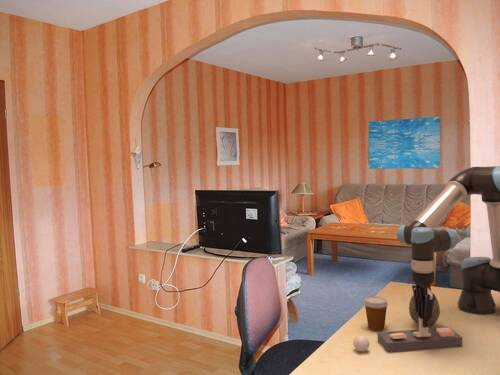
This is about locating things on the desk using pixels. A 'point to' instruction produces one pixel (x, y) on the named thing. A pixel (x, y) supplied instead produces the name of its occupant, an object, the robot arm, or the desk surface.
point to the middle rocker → (420, 335)
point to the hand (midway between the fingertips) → (423, 334)
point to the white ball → (361, 343)
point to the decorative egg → (430, 320)
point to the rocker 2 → (445, 332)
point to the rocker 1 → (398, 335)
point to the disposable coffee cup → (376, 312)
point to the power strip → (417, 341)
